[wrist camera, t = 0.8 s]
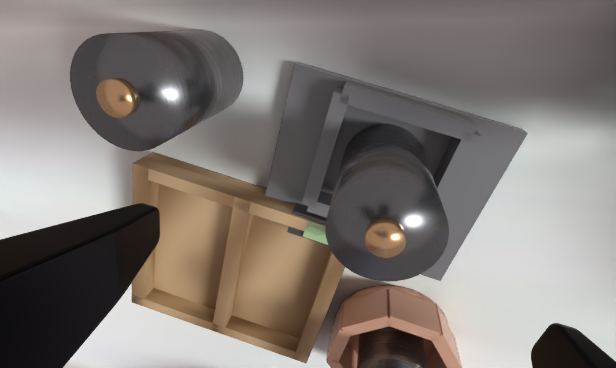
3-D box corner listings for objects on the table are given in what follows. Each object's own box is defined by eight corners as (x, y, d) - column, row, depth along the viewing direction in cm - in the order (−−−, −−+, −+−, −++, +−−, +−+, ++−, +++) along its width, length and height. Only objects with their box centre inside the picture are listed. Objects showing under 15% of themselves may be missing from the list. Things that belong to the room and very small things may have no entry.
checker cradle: (521, 128, 17) (539, 142, 15) (438, 272, 22) (444, 297, 20) (297, 61, 18) (288, 66, 16) (263, 215, 22) (252, 233, 21)
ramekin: (469, 308, 23) (481, 347, 20) (421, 379, 26) (426, 419, 24) (354, 270, 23) (351, 302, 20) (323, 344, 27) (316, 380, 24)
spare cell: (249, 42, 18) (172, 54, 11) (236, 120, 20) (165, 169, 13) (172, 20, 18) (53, 18, 12) (167, 99, 20) (64, 136, 14)
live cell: (438, 138, 17) (475, 210, 11) (406, 208, 19) (420, 304, 13) (357, 113, 18) (343, 168, 11) (333, 185, 20) (310, 267, 13)
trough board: (358, 218, 21) (357, 236, 19) (311, 340, 27) (306, 363, 25) (153, 152, 22) (133, 163, 20) (147, 284, 28) (131, 302, 26)
